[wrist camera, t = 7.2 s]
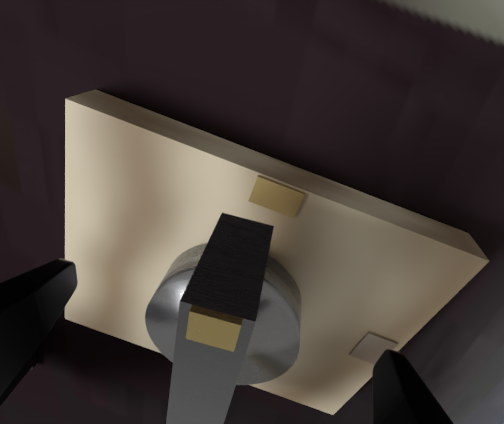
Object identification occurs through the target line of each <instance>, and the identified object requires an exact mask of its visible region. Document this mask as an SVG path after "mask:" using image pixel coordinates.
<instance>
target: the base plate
mask: <svg viewBox="0 0 504 424" xmlns="http://www.w3.org/2000/svg"><path fill="white" fill-rule="evenodd" d="M222 213H226V214H230V215H234V216H237V217H241V218H245V219H249V220H253V221H256V222H260V223H264V224H268V225H272V226H274V228H273V234H272V239H271V244H270V249H269V256H270V257H272V258H273V259H275V260H276V261H277V262H279V263H280V264H281V265H282V266H283V267H284V268H285V269H286V270H287V271H288V272H289V273H290V274H291V276H292V277H293V279H294V280H295V282H296V284H297V286H298V288H299V291H300V295H301V325H300V348H299V354H298V357H297V359H296V361H295V363H294V364H293V366H292V367H291V368H290V369H289V370H288V371H287V372H285V373H284V374H283V375H281V376H279V377H277V378H275V379H273V380H270V381H267V382H264V383H259V384H252V385H251V386H254V387H256V388H259V389H262V390H265V391H268V392H270V393H273V394H276V395H279V396H282V397H284V398H287V399H290V400H293V401H296V402H298V403H301V404H304V405H307V406H309V407H312V408H315V409H318V410H321V411H323V412H326V413H329V414H332V415H334V414H335V413H336V412H337V411H338V410H339V409H340V408H341V407H342V406H343V405H344V404H345V403H346V402H347V401H348V400H349V399H350V398H351V397H352V396H353V395H354V394H355V393H356V392H357V391H358V390H359V389H360V388H361V387H362V386H363V385H364V384H365V383H366V382H367V381H368V380H369V379H370V378H371V377H372V372H373V367H374V365H375V363H376V362H377V360H378V359H379V358H380V356H381V355H382V354H383V352H384V351H385V350H386V349H391V350H395V351H399V350H400V349H401V348H402V347H403V346H404V345H405V344H406V343H407V342H408V341H409V340H410V339H411V338H412V337H413V336H414V335H415V334H416V333H417V332H418V331H419V330H420V329H421V328H422V327H423V326H424V325H425V324H426V323H427V322H428V321H429V320H430V319H431V318H432V317H433V316H434V315H435V314H436V313H437V312H438V311H439V310H440V309H441V308H442V307H443V306H444V305H445V304H447V303H448V302H449V301H450V300H451V299H452V298H453V297H454V296H455V295H456V294H457V293H458V292H459V291H460V290H461V289H462V288H463V287H464V286H465V285H466V284H467V283H468V282H469V281H470V280H471V279H472V278H473V277H474V276H475V275H476V274H477V273H478V272H479V271H480V270H481V269H482V268H483V267H484V266H485V265H486V264H487V263H488V262H489V260H488V258H487V257H486V256H485V254H484V253H483V252H482V250H481V249H480V248H479V246H478V245H477V244H476V242H475V241H474V240H473V238H472V237H471V236H470V234H469V233H467V232H464V231H462V230H459V229H456V228H454V227H451V226H449V225H446V224H443V223H441V222H438V221H436V220H433V219H430V218H428V217H425V216H423V215H420V214H417V213H415V212H412V211H410V210H407V209H404V208H402V207H399V206H397V205H394V204H391V203H389V202H386V201H384V200H381V199H378V198H376V197H373V196H371V195H368V194H366V193H363V192H360V191H358V190H355V189H353V188H350V187H347V186H345V185H342V184H340V183H337V182H334V181H332V180H329V179H327V178H324V177H321V176H319V175H316V174H314V173H311V172H308V171H306V170H303V169H301V168H298V167H295V166H293V165H290V164H288V163H285V162H282V161H280V160H277V159H275V158H272V157H270V156H267V155H264V154H262V153H259V152H257V151H254V150H251V149H249V148H246V147H244V146H241V145H238V144H236V143H233V142H231V141H228V140H225V139H223V138H220V137H218V136H215V135H212V134H210V133H207V132H205V131H202V130H199V129H197V128H194V127H192V126H189V125H186V124H184V123H181V122H179V121H176V120H174V119H171V118H168V117H166V116H163V115H161V114H158V113H155V112H153V111H150V110H148V109H145V108H142V107H140V106H137V105H135V104H132V103H129V102H127V101H124V100H122V99H119V98H116V97H114V96H111V95H109V94H106V93H103V92H101V91H98V90H92V91H89V92H86V93H82V94H79V95H76V96H73V97H69V98H66V99H65V260H69V261H72V262H74V263H75V265H76V273H77V280H78V284H77V288H76V290H75V292H74V293H73V295H72V296H71V298H70V300H69V301H68V303H67V304H66V306H65V319H67V320H70V321H73V322H75V323H78V324H81V325H84V326H86V327H89V328H92V329H95V330H98V331H100V332H103V333H106V334H109V335H112V336H114V337H117V338H120V339H123V340H125V341H128V342H131V343H134V344H137V345H139V346H142V347H145V348H148V349H151V350H153V351H156V352H159V353H161V352H160V351H159V350H158V348H157V347H156V346H155V345H154V343H153V341H152V340H151V338H150V336H149V334H148V331H147V328H146V324H145V313H146V309H147V306H148V304H149V302H150V300H151V298H152V297H153V295H154V293H155V292H156V290H157V288H158V286H159V285H160V283H161V281H162V280H163V278H164V276H165V274H166V273H167V271H168V269H169V268H170V266H171V264H172V263H173V261H174V260H175V259H176V258H177V257H178V256H179V255H180V254H182V253H183V252H185V251H186V250H188V249H190V248H192V247H195V246H198V245H202V244H206V243H208V241H209V239H210V237H211V235H212V233H213V230H214V228H215V226H216V224H217V222H218V220H219V218H220V216H221V214H222Z"/></svg>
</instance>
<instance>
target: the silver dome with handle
mask: <svg viewBox="0 0 504 424" xmlns="http://www.w3.org/2000/svg"><path fill="white" fill-rule="evenodd" d="M273 228H274V226H272V225H268V224H264V223H260V222H256V221H253V220H249V219H245V218H241V217H237V216H234V215H230V214H226V213H222V214H221V216H220V218H219V220H218V222H217V224H216V226H215V228H214V230H213V233H212V235H211V237H210V239H209V241H208V243H206V244H202V245H198V246H195V247H192V248H190V249H188V250H186V251H185V252H183V253H182V254H180V255H179V256H178V257H177V258H176V259H175V260H174V261H173V263H172V264H171V266H170V268H169V269H168V271H167V273H166V274H165V276H164V278H163V280H162V281H161V283H160V285H159V286H158V288H157V290H156V292H155V293H154V295H153V297H152V298H151V300H150V302H149V304H148V306H147V309H146V313H145V324H146V328H147V331H148V334H149V336H150V338H151V340H152V341H153V343H154V345H155V346H156V347H157V348H158V350H159V351H160V352H161V353H162V354H163V355H164V356H165V357H166V358H168V359H169V360H170V361H171V362H173V367H172V376H171V385H170V394H169V403H168V412H167V421H166V424H224V421H225V418H226V414H227V411H228V408H229V405H230V402H231V399H232V395H233V392H234V389H235V386H236V385H252V384H259V383H264V382H267V381H270V380H273V379H275V378H277V377H279V376H281V375H283V374H284V373H285V372H287V371H288V370H289V369H290V368H291V367H292V366H293V364H294V363H295V361H296V359H297V357H298V354H299V348H300V325H301V295H300V291H299V288H298V286H297V284H296V282H295V280H294V279H293V277H292V276H291V274H290V273H289V272H288V271H287V270H286V269H285V268H284V267H283V266H282V265H281V264H280V263H279V262H277V261H276V260H275V259H273V258H272V257H270V256H269V249H270V244H271V239H272V234H273Z"/></svg>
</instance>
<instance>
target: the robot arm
mask: <svg viewBox="0 0 504 424" xmlns="http://www.w3.org/2000/svg"><path fill="white" fill-rule="evenodd" d="M77 284H78V280H77V273H76V265H75V263H74V262H72V261H69V260H65V259H56V260H54V261H52V262H49V263H47V264H44V265H42V266H40V267H37V268H35V269H33V270H30V271H28V272H26V273H23V274H21V275H18V276H16V277H14V278H11V279H9V280H7V281H4V282H2V283H0V405H1V404H2V403H3V402H4V401H5V399H6V398H7V397H8V396H9V394H10V393H11V392H12V391H13V390H14V388H15V387H16V386H17V385H18V383H19V382H20V381H21V380H22V378H23V377H24V376H25V375H26V374H27V372H28V371H29V370H32V369H33V368H34V367H35V366H36V353H35V351H36V350H37V349H38V347H39V346H40V345H41V343H42V342H43V341H44V339H45V338H46V336H47V335H48V333H49V332H50V330H51V329H52V327H53V325H54V324H55V322H56V321H57V319H58V317H59V316H60V314H61V313H62V311H63V309H64V308H65V306H66V304H67V303H68V301H69V300H70V298H71V296H72V295H73V293H74V292H75V290H76V288H77ZM372 380H373V424H453V422H452V421H451V419H450V418H449V417H448V415H447V414H446V412H445V411H444V410H443V408H442V407H441V405H440V404H439V403H438V401H437V400H436V399H435V397H434V396H433V394H432V393H431V392H430V390H429V389H428V387H427V386H426V385H425V383H424V382H423V380H422V379H421V378H420V376H419V375H418V374H417V372H416V371H415V369H414V368H413V367H412V365H411V364H410V362H409V361H408V360H407V358H406V357H405V356H404V354H402V353H401V352H398V351H395V350H391V349H386V350H385V351H384V352H383V354H382V355H381V356H380V358H379V359H378V360H377V362H376V363H375V365H374V367H373V372H372Z"/></svg>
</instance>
